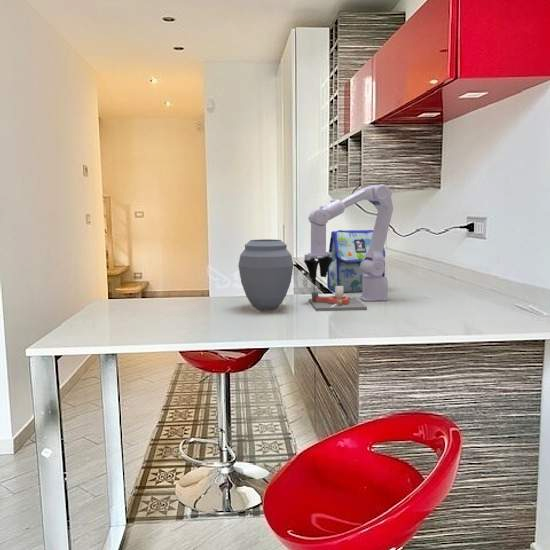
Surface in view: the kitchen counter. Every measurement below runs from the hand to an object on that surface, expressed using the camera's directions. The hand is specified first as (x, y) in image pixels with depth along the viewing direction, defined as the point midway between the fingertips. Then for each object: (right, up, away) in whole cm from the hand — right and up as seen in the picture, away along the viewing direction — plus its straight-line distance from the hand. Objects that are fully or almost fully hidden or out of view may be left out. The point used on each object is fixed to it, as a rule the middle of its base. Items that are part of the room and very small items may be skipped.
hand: (318, 277), depth 201 cm
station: (+7, -10, -5) cm, 13 cm away
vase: (-19, -11, -10) cm, 24 cm away
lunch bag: (+19, -6, +30) cm, 36 cm away
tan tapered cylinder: (+7, -11, -11) cm, 17 cm away
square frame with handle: (+4, -9, -4) cm, 11 cm away
